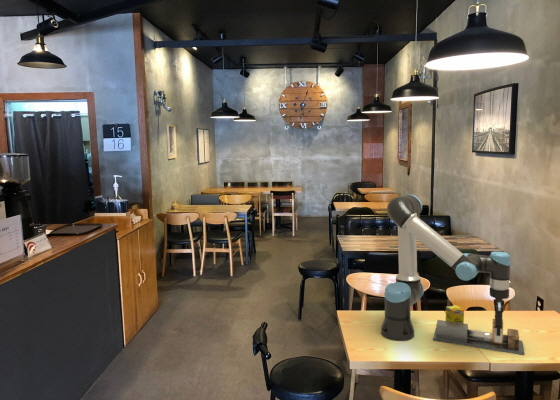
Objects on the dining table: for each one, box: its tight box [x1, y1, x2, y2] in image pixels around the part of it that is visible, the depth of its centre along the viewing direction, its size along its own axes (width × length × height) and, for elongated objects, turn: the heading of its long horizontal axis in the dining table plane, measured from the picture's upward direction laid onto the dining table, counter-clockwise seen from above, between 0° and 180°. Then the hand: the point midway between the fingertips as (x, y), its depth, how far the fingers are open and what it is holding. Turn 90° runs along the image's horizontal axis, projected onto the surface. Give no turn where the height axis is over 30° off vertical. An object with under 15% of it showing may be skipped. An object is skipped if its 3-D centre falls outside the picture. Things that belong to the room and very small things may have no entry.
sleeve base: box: [432, 319, 525, 356], centre depth 188 cm, size 36×12×6 cm, turn 64°
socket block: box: [506, 328, 520, 349], centre depth 182 cm, size 4×8×6 cm, turn 154°
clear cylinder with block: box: [467, 318, 508, 345], centre depth 186 cm, size 20×4×10 cm, turn 64°
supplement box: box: [445, 304, 465, 323], centre depth 201 cm, size 6×6×11 cm
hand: (497, 338), depth 184 cm, fingers open, 6 cm apart
